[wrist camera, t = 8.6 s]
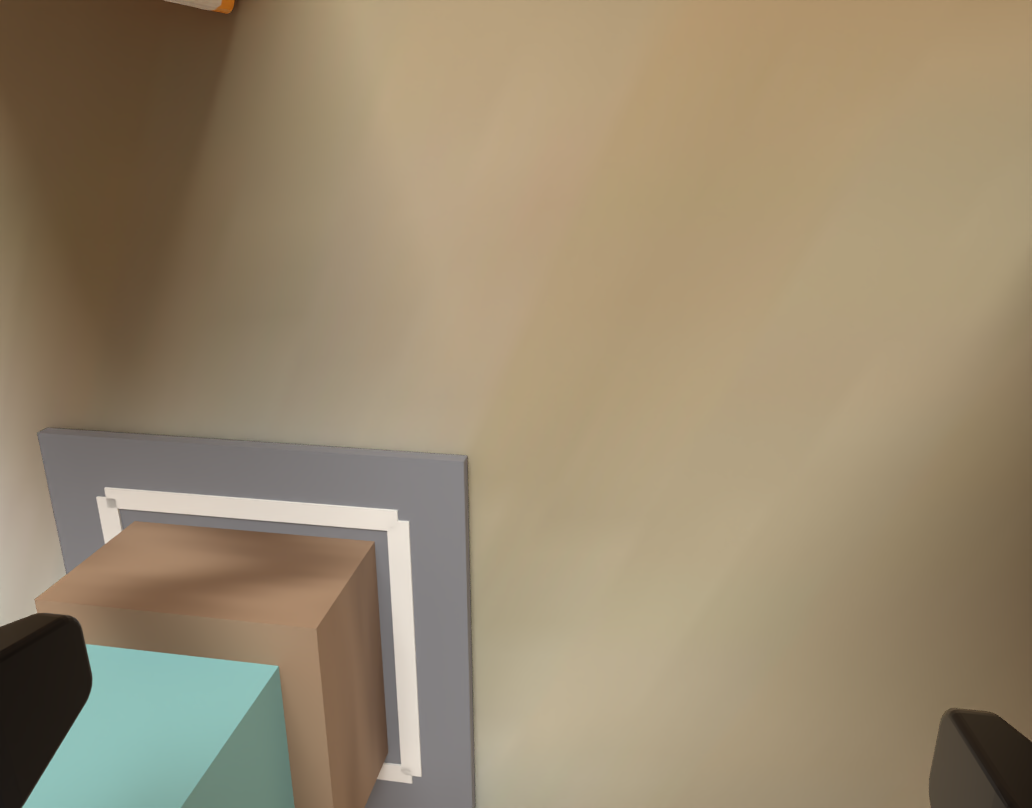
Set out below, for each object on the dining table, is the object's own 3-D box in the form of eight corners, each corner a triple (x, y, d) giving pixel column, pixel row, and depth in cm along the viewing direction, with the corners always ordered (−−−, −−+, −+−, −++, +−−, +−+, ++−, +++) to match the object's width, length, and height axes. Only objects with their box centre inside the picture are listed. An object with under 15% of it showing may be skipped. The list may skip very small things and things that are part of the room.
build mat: (467, 455, 22) (463, 462, 21) (475, 818, 26) (472, 830, 25) (46, 427, 23) (35, 433, 23) (116, 769, 27) (107, 780, 27)
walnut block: (374, 541, 22) (316, 628, 19) (388, 751, 25) (339, 866, 21) (134, 520, 23) (34, 599, 20) (169, 724, 26) (86, 828, 22)
